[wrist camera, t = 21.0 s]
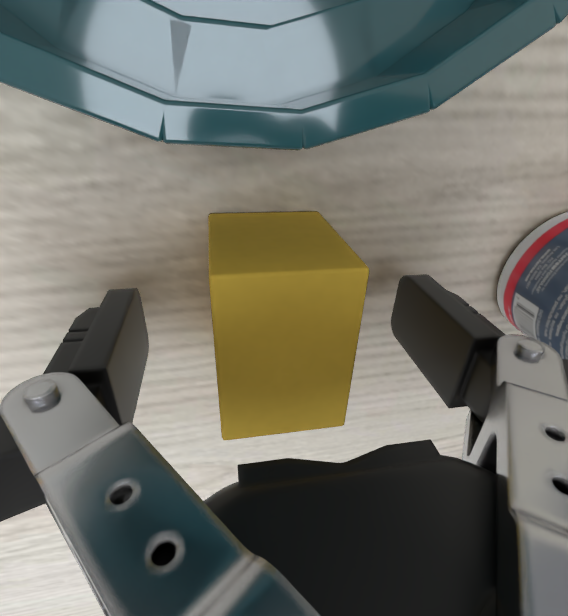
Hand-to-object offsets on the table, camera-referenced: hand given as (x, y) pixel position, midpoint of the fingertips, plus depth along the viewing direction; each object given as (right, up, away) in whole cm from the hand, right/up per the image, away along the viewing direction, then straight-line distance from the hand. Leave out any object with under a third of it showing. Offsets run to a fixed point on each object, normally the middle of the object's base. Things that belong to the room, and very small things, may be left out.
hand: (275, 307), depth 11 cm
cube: (0, +1, +1) cm, 2 cm away
